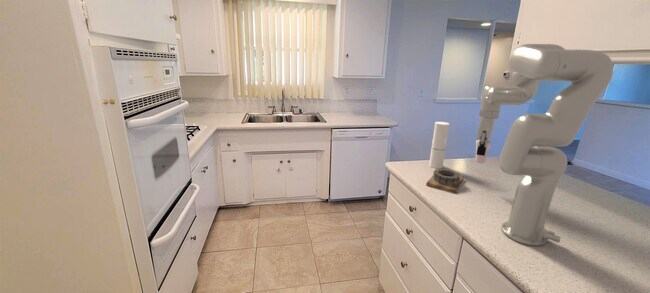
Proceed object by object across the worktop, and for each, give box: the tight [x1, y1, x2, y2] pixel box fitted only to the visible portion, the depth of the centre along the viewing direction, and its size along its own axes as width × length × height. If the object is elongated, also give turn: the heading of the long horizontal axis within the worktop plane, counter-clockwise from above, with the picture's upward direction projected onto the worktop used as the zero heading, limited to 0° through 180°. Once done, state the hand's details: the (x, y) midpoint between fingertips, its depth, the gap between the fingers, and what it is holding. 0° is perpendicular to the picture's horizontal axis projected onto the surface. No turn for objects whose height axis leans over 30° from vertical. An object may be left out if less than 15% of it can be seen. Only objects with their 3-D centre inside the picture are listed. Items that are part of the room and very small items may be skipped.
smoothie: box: [475, 139, 492, 164], centre depth 124 cm, size 6×6×14 cm
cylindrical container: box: [428, 121, 450, 170], centre depth 151 cm, size 7×7×25 cm
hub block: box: [426, 168, 465, 194], centre depth 133 cm, size 13×18×5 cm
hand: (481, 153), depth 125 cm, fingers closed on smoothie, 6 cm apart
